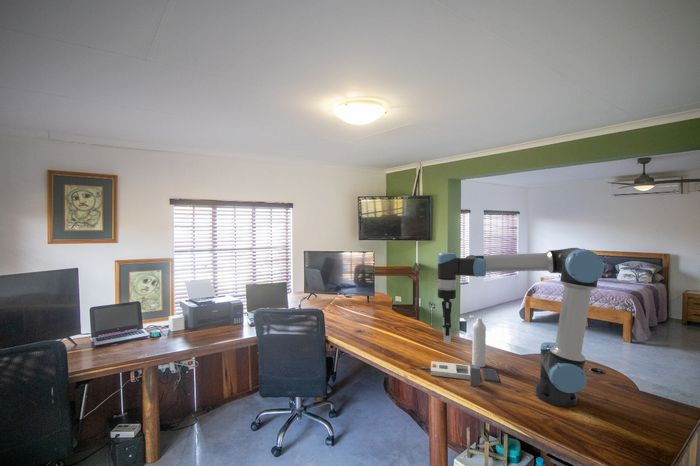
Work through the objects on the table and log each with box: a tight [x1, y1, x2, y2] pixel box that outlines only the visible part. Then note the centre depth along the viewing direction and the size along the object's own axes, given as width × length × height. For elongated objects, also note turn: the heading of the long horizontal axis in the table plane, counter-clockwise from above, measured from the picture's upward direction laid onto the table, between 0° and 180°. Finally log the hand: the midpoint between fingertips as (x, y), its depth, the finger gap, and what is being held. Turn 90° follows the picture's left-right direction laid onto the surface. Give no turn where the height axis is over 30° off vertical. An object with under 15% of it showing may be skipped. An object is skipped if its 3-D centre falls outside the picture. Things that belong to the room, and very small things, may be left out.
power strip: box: [419, 360, 471, 381], centre depth 169 cm, size 28×12×3 cm, turn 75°
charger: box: [469, 364, 481, 388], centre depth 156 cm, size 4×4×8 cm
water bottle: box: [469, 315, 487, 368], centre depth 178 cm, size 9×6×25 cm
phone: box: [481, 367, 500, 383], centre depth 164 cm, size 6×12×2 cm, turn 165°
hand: (446, 337), depth 146 cm, fingers open, 13 cm apart
